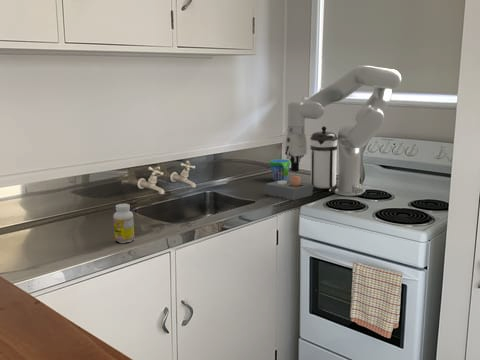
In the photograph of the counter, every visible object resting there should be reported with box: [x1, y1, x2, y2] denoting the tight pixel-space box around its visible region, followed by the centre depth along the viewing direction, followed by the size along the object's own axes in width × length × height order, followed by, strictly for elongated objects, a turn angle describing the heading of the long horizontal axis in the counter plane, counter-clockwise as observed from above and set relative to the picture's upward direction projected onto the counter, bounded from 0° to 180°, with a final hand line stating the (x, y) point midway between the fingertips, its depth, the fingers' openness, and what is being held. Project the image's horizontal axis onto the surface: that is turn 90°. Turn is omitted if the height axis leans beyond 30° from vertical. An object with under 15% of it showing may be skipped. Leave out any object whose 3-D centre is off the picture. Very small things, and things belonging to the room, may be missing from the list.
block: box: [265, 179, 313, 201], centre depth 249 cm, size 17×13×5 cm
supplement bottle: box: [112, 203, 135, 240], centre depth 186 cm, size 7×7×13 cm
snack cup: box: [269, 158, 291, 182], centre depth 280 cm, size 16×10×10 cm
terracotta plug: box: [290, 175, 302, 187], centre depth 245 cm, size 4×4×5 cm
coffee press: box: [309, 126, 338, 193], centre depth 258 cm, size 17×16×30 cm
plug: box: [277, 181, 287, 185], centre depth 251 cm, size 4×4×5 cm
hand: (294, 170), depth 243 cm, fingers closed
